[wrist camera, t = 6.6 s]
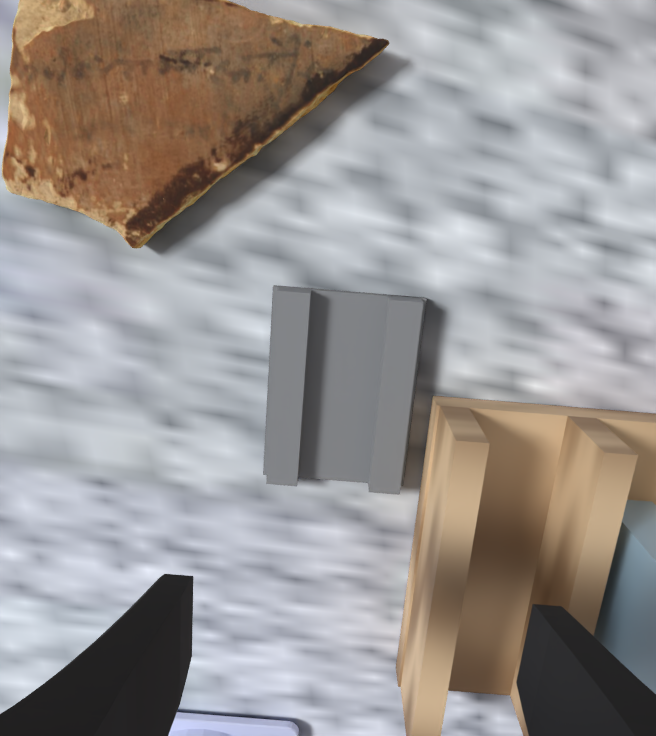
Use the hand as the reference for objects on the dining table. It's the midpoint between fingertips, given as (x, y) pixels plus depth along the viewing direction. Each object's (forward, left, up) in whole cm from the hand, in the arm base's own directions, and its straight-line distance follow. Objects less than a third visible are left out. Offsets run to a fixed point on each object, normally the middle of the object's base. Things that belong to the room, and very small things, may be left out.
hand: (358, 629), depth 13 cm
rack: (-4, -10, -10) cm, 15 cm away
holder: (+2, 0, -10) cm, 10 cm away
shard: (+12, +7, -11) cm, 18 cm away
